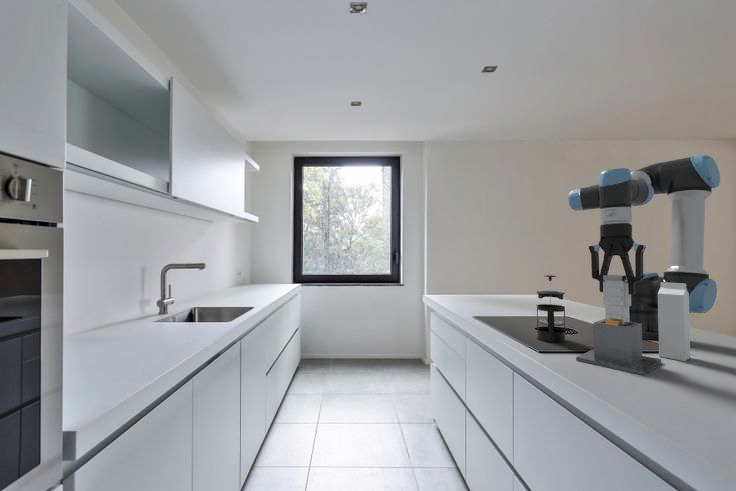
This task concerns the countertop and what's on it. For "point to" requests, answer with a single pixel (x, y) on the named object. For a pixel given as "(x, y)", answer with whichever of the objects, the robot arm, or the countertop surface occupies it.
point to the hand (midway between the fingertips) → (617, 304)
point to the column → (616, 299)
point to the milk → (673, 321)
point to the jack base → (619, 348)
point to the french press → (550, 317)
